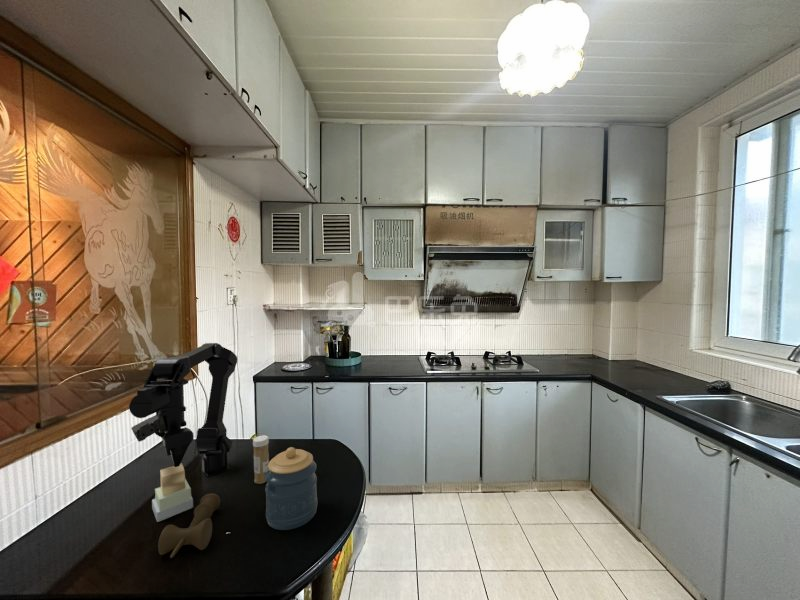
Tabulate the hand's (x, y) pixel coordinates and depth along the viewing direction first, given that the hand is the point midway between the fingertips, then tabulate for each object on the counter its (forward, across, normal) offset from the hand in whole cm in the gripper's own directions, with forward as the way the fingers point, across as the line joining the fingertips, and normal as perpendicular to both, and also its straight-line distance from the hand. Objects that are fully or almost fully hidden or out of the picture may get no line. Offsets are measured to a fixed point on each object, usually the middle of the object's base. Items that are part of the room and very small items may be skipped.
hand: (173, 460), depth 89 cm
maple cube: (+8, 0, 0) cm, 8 cm away
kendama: (+14, +17, +1) cm, 21 cm away
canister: (+13, +27, +21) cm, 37 cm away
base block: (+14, 0, 0) cm, 14 cm away
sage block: (+11, 0, 0) cm, 11 cm away
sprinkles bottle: (+13, +5, +22) cm, 26 cm away
